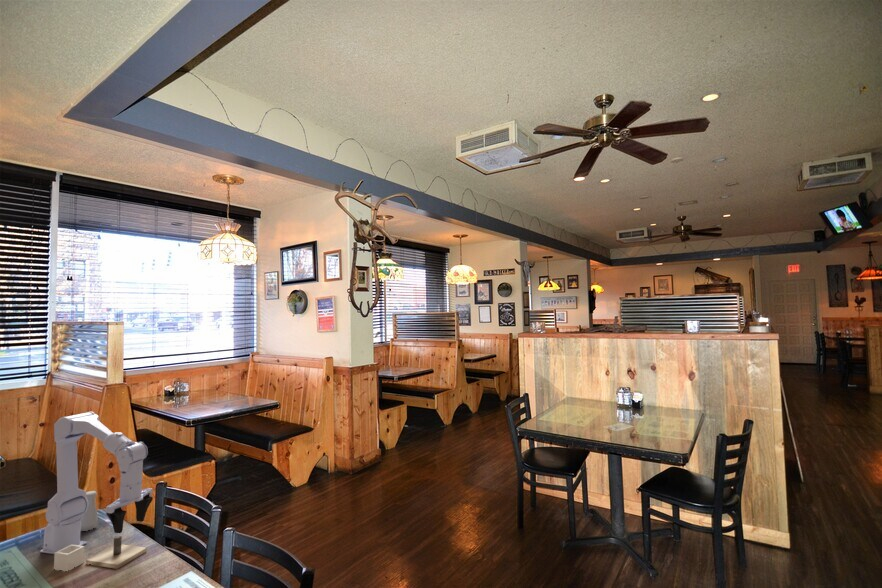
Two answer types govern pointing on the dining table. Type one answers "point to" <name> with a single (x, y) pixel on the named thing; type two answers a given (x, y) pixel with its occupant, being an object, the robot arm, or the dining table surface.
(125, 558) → the roll holder
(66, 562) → the hollow square tube
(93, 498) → the salt shaker
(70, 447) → the robot arm
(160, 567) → the dining table surface
